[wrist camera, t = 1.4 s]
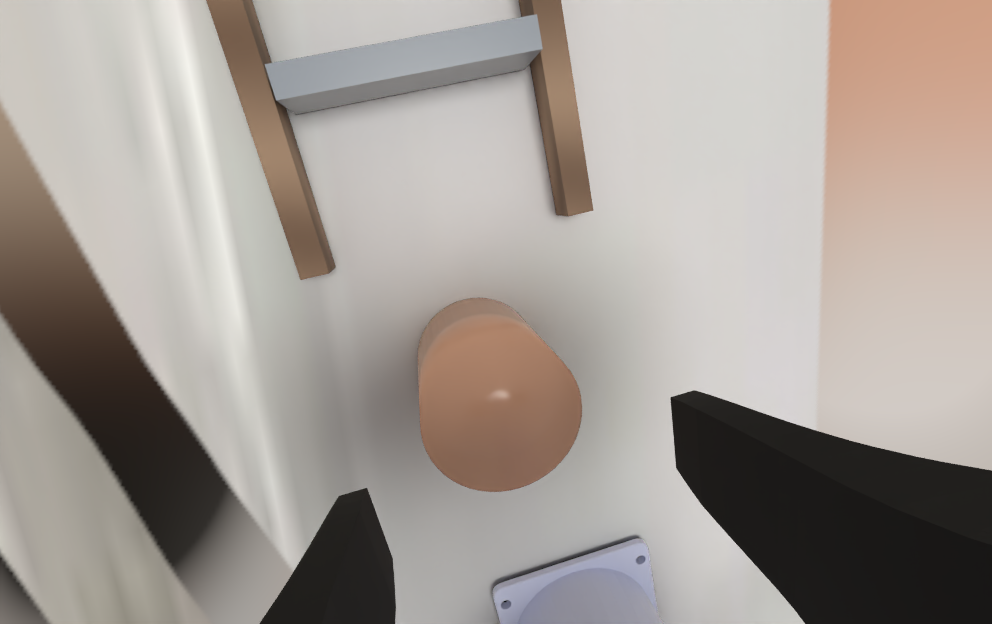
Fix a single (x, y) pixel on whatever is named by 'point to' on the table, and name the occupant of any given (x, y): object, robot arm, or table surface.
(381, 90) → the plate
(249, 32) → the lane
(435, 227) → the table surface
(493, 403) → the terracotta jar
